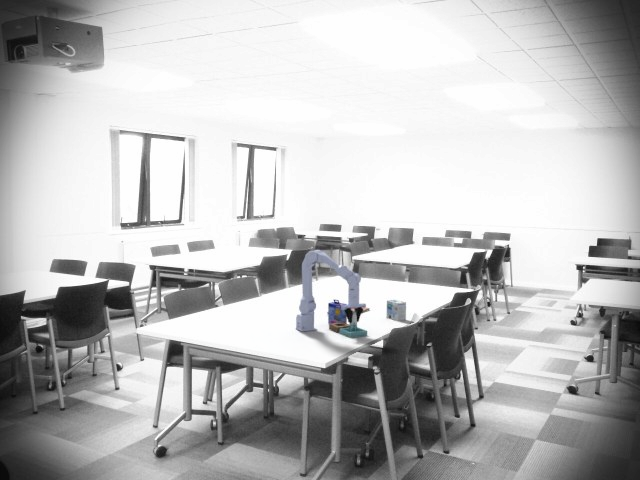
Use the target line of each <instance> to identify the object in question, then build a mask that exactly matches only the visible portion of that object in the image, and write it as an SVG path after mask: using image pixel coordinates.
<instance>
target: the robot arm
mask: <svg viewBox="0 0 640 480" xmlns="http://www.w3.org/2000/svg"><path fill="white" fill-rule="evenodd" d="M317 263H324V264H325V265H327V266H328V267H330V268H331V269H333V270H334V271H336V275H338V276H339V277H341V278H342V279H343V280H345V281H346V283H347V284H348V295H347V296H348V298H347V299H348V303H347V305H343V306H341V309H342V310H344V311H345V313H346V315H347V321H348V322H347V323H348V324H350V323H351V322H352V313H353V311H352V310H351V309H355V311H357V323H359V321H360V318H361V315H362V313H363V312H362V311H363V307H364V308H367V303H360V283H361V280H362V278H361V276H360V274H359V273H357V272H355V271H352V270H351V269H349V268H348V265H345V264H342V265H341V264H339V263H337V262H336V261H335V260H334V259H332V258H331V257H330V256H329V255H328V254H327V253H326V252H325V251H322V250H321V249H316V250H310V251H308V252H307V253H306V254H305V256H304V259H303V261H302V263H301V281H302V282H301V284H302V297H301V299H300V304H299V306H298V310H299V311H300V313H299V314H296V318H295V322H296V323H295V325H296V327H295V329H296V330H298V331H300V332H311V331H317V330H318V329H317V328H316V327H315V311H316V308H317V303H316V301H315V297H314V296H313V271H312V268H313V267H314V265H316V264H317Z"/></svg>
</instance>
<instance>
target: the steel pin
mask: <svg viewBox="0 0 640 480" xmlns="http://www.w3.org/2000/svg"><path fill="white" fill-rule="evenodd" d="M349 325H350V326H349V330H350V331H357V327H358V322H357V311H353V313H352V322H351V323H349Z"/></svg>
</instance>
